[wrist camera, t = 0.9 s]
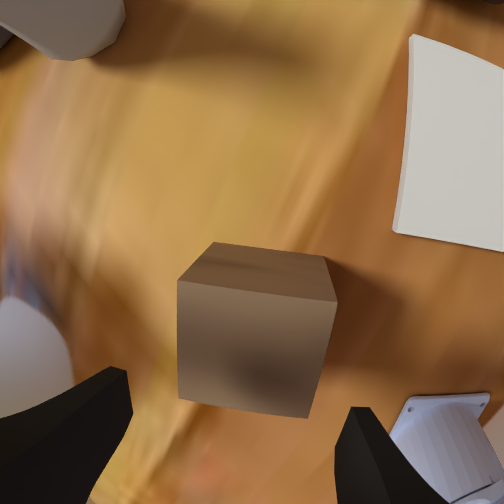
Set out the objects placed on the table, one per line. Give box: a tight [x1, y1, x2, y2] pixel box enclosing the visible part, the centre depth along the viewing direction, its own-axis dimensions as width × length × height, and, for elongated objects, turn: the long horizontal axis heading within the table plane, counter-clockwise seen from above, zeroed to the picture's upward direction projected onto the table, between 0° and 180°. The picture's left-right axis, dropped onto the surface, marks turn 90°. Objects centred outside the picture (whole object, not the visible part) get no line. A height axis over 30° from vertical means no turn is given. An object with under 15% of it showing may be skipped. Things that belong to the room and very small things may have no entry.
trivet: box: [392, 34, 504, 252], centre depth 14 cm, size 11×11×1 cm
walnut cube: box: [177, 242, 338, 419], centre depth 15 cm, size 6×6×6 cm
